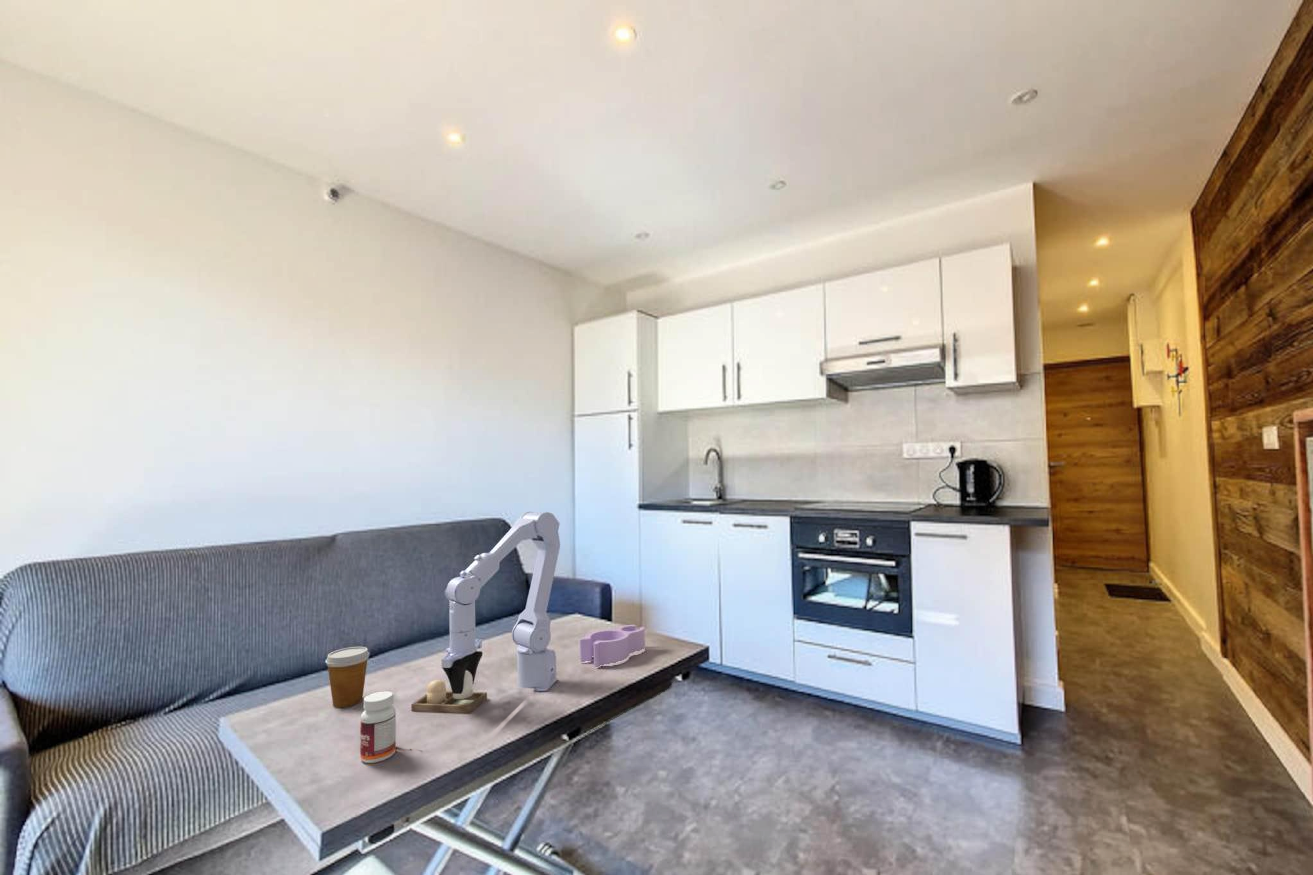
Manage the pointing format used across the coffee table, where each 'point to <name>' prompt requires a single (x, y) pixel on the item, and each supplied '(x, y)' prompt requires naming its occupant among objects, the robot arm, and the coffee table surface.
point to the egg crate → (447, 706)
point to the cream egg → (466, 687)
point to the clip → (611, 644)
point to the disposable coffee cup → (347, 675)
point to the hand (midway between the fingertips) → (463, 688)
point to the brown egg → (436, 692)
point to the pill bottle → (378, 727)
